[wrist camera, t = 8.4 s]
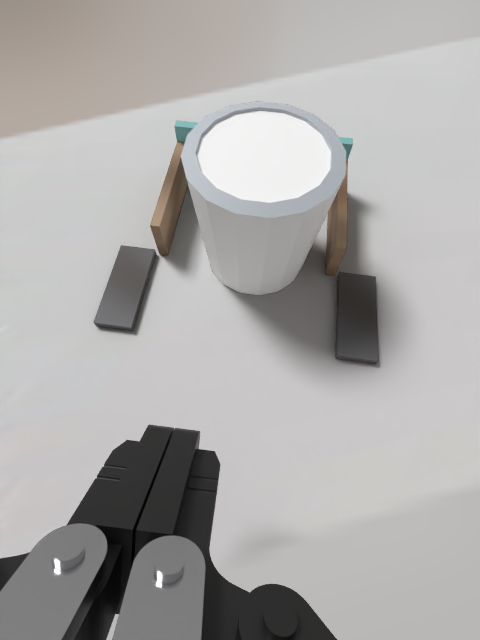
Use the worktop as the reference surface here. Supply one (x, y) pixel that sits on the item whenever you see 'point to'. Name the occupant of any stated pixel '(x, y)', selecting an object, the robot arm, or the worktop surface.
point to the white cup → (261, 190)
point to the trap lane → (136, 263)
